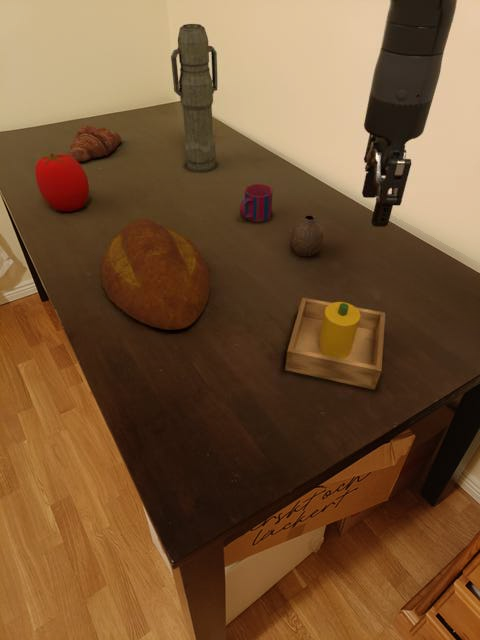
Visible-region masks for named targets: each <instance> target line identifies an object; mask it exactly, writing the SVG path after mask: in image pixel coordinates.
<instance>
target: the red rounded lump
mask: <svg viewBox="0 0 480 640" xmlns="http://www.w3.org/2000/svg"><path fill="white" fill-rule="evenodd" d="M68 154H69V153H68ZM68 154H67V153H63V152H61V153H53V152H52V153H50V154H49V155H45V156H42V157H40V158H39V160H38V161H37V162H36V164H35V167H34V169H35V171H34V174H35V181H36V184H37V187H38V190H39V192H40V194H41V196H42V198H43V199H44V201H45V202H47V204H48V205H49V206H50V207H51V208H53V209H55V210H57V211H60V212H67V213H69V212H75V211H78V210H80V209H82V208H83V207H84V206H85V205H86V203H87V201H88V198H89V193H90V192H89V191H90V185H89V184H90V183H89V179H88V176H87V173H86V172H85V170H84V168H83V167H82V165H81V164H80V162H78V161H77V160H76V159H75V158H73V157H71V156H70V155H68Z"/></svg>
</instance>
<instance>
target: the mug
mask: <svg viewBox="0 0 480 640" xmlns="http://www.w3.org/2000/svg"><path fill="white" fill-rule="evenodd" d="M272 207H273V188H272V187H271V186H269V185H268V184H264V183H254V184H250V185H246V187H245V188H244V199H243V200H242V202H241V203H240V206H239V215H240V217H242V218H243V219H245V220H248V221H249V222H253V223H264V222H266V221H268V220H270V219H271V218H272V209H273V208H272Z"/></svg>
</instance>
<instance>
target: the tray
mask: <svg viewBox="0 0 480 640" xmlns="http://www.w3.org/2000/svg"><path fill="white" fill-rule="evenodd" d="M331 303H332V302H330V301H323V300H318V299H313V298H307V297H302V298H301V301H300V304H299V308H298V312H297V316H296V318H295V323H294V326H293V328H292V333H291V336H290V339H289V344H288V346H287V351H286V358H285V367H284V368H285V369H284V370H285V371H287V372H292V373H297V374H301V375H306V376H311V377H315V378H319V379H323V380H328V381H332V382H337V383H342V384H346V385H351V386H354V387H360V388H365V389H370V390H376V388H377V385H378V382H379V379H380V376H381V373H382V371H383V370H382V369H383V355H384V342H385V341H384V339H385V325H386V312H384V311H379V310H373V309H367V308H362V307H357V306H355V307H356V308H357V309H358V310H359V312H360V320H359V324H358V327H357V331H356V335H355V339H354V342H353V346H352V350H351V353H350V354H349V355H348V356H347V357H346V358H343V359H340V358H336V357H331V356H326V355H324V354H323V353H322V352H321V351H320V349H319V340H320V334H321V329H322V324H323V318H324V313H325V309H326V307H327V306H328V305H329V304H331Z"/></svg>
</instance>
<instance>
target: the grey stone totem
mask: <svg viewBox="0 0 480 640" xmlns="http://www.w3.org/2000/svg"><path fill="white" fill-rule="evenodd" d="M210 55H211V69H210V66H209V63H210ZM177 58H178V59H179V64H180V68H179V70H178V62H177V61H178V59H177ZM170 61H171V72H172V82H173V83H172V84H173V92H174V93H175V94H176V95H177V96H179V100H180V104H181V106H182V113H183V124H184V125H183V126H184V136H185V138H184V143H183V147H184V157H185V160H186V168H187V169H188V170H190V171H192V172H207V171H208V172H209V171H211V170H212V169H214V168H216V157H217V155H216V142H215V138H214V132H213V131H214V129H213V106H212V105H213V103H214V94H215V92H216V91H218V83H219V82H218V53H217V51H216V49H215V48H214V46H212V45H209V38H208V34H207V31H206V28H205V26H204V25H203V26H202V24H199V23H186V24H183V25H182V26H180V27H179V31H178V36H177V48H176V49H174V50H172V53H171V55H170ZM210 70H211V71H210ZM179 71H180V72H179ZM178 72H179V73H178Z"/></svg>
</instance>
